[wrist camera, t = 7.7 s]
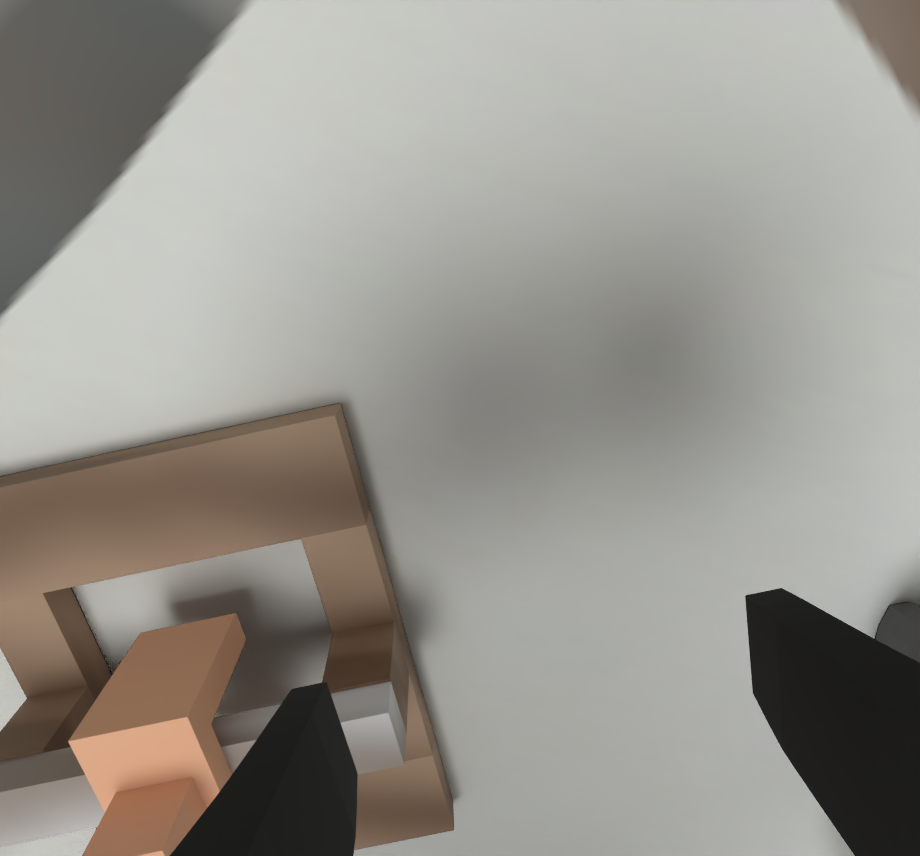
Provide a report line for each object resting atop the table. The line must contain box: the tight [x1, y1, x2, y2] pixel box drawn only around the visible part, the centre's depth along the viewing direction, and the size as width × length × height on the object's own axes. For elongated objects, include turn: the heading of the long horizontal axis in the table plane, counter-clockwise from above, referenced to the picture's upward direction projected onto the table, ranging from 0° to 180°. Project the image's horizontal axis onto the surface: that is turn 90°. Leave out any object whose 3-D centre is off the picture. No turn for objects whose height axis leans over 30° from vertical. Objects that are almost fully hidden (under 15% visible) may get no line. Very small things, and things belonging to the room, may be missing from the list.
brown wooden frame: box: [0, 403, 454, 850], centre depth 20 cm, size 16×12×5 cm
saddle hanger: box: [68, 613, 246, 856], centre depth 18 cm, size 5×3×6 cm, turn 12°
